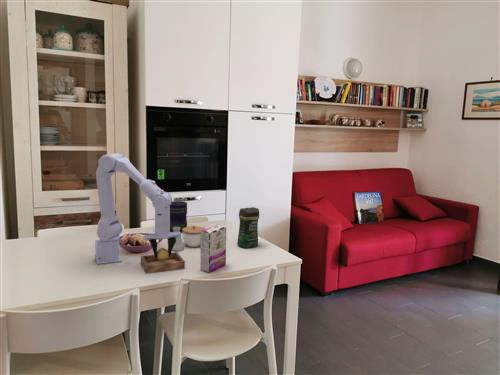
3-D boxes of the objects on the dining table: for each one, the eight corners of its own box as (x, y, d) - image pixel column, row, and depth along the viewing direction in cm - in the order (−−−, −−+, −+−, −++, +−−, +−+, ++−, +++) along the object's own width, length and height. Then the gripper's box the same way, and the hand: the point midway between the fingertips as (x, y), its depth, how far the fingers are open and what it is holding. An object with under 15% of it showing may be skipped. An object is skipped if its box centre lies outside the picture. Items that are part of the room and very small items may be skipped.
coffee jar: (244, 249, 182) (245, 210, 179) (234, 245, 188) (236, 207, 185) (260, 246, 188) (262, 208, 185) (251, 242, 194) (252, 205, 191)
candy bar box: (216, 262, 165) (217, 224, 162) (226, 264, 162) (227, 226, 160) (199, 270, 156) (199, 230, 153) (209, 273, 153) (210, 232, 150)
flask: (181, 252, 175) (181, 230, 174) (165, 250, 177) (165, 229, 175) (186, 247, 182) (187, 226, 181) (172, 245, 184) (172, 225, 182)
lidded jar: (177, 246, 183) (177, 226, 182) (189, 240, 193) (190, 221, 191) (198, 250, 179) (198, 230, 178) (209, 243, 189) (209, 224, 187)
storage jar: (185, 233, 204) (185, 205, 201) (166, 232, 204) (166, 204, 202) (188, 228, 214) (188, 201, 211) (170, 227, 214) (170, 200, 211)
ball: (157, 263, 155) (157, 251, 154) (154, 259, 160) (154, 247, 159) (170, 261, 157) (170, 249, 157) (167, 257, 162) (166, 245, 161)
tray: (146, 273, 150) (146, 265, 150) (140, 262, 161) (140, 255, 160) (184, 268, 157) (184, 261, 156) (177, 258, 167) (177, 251, 167)
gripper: (145, 227, 149) (145, 261, 151) (183, 224, 155) (182, 257, 158) (142, 222, 155) (142, 255, 158) (178, 220, 162) (178, 252, 164)
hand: (162, 256), depth 158 cm, fingers closed on ball, 5 cm apart
